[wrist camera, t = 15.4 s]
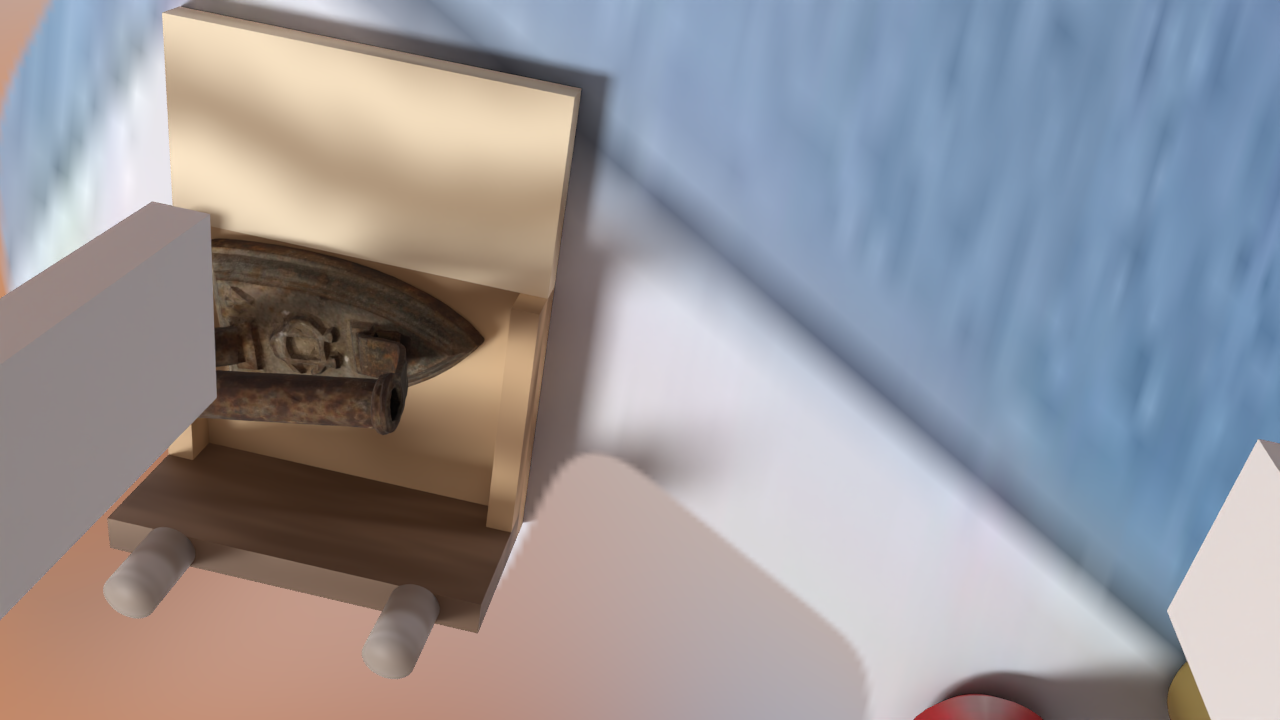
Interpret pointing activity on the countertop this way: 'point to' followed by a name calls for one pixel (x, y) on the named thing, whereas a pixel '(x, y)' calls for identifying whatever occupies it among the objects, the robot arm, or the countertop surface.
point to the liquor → (977, 709)
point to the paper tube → (1185, 697)
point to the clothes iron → (323, 338)
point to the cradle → (398, 246)
